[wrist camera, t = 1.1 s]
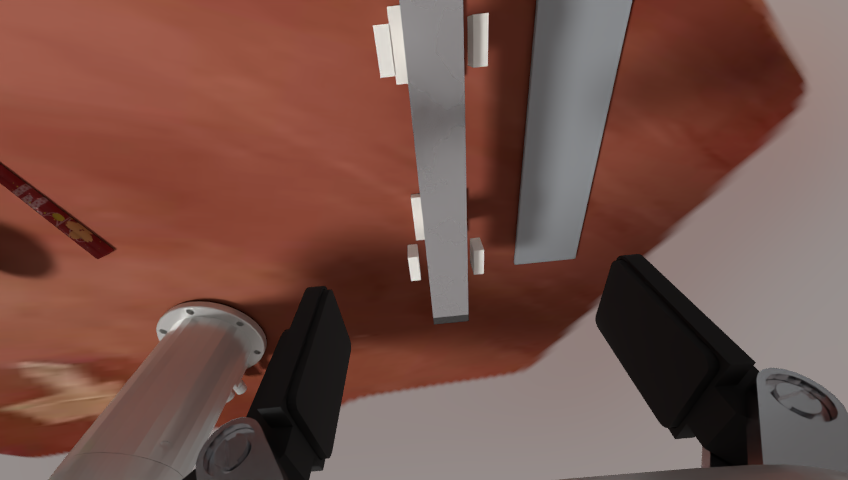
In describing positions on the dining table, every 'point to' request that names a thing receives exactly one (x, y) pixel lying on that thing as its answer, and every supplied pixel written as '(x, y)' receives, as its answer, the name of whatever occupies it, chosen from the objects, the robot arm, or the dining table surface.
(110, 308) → the dining table surface
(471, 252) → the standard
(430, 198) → the steel rail
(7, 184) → the chopstick
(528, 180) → the mat
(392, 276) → the dining table surface
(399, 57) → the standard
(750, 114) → the dining table surface
